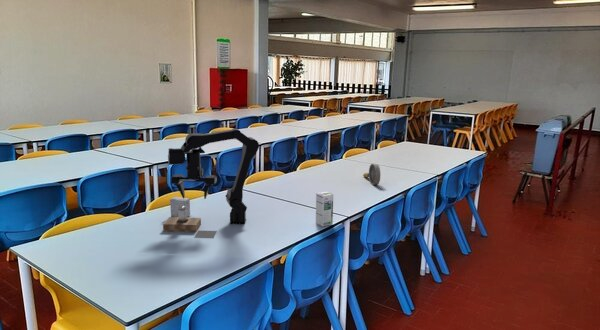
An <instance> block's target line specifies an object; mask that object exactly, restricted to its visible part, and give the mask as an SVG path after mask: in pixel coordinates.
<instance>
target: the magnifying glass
mask: <svg viewBox="0 0 600 330" xmlns="http://www.w3.org/2000/svg"><path fill="white" fill-rule="evenodd" d="M362 176H363V177H364V178H368V179H369V180H368V181H369V183H370V184H371V185H372V186H378V185H379V184H380V182H381V167H380V165H379V164H378V163H371V164H370V165H369V169H368V172H364V173H363V175H362Z"/></svg>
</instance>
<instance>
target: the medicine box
mask: <svg viewBox="0 0 600 330" xmlns="http://www.w3.org/2000/svg"><path fill="white" fill-rule="evenodd" d="M190 200H191V199H190V198H187V197H185V198H183V197H182V196H173V197H172V198H170V199H169V201H170V203H169V204H170V217H179V212H178V209H177V207H178V206H181V205H185V206H187V208H186V217H189V218H190V216H191V201H190Z"/></svg>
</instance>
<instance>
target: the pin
mask: <svg viewBox="0 0 600 330" xmlns="http://www.w3.org/2000/svg"><path fill="white" fill-rule="evenodd" d="M186 208H187V206H185V205H181V206H178V207H177V209H178V212H179V223H186Z"/></svg>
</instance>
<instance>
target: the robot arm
mask: <svg viewBox="0 0 600 330" xmlns="http://www.w3.org/2000/svg"><path fill="white" fill-rule="evenodd" d="M233 139H234V140H237V141H239V142H240V143H241V144H242V148H241V149H242V150H241V154H242V155H241V158H240V163H239V166H238V169H237V173H236V176H235V180H234V182H233V185H232V187H231V188H229V187H228V188H227V192H226V194H225V198H226V200H225V201H226V202H227V204H228V206H229V207H230V208H231V209H230V213H229V222H230V225H246V223H247V218H246V217H247V216H246V215H247V209H248V207H247V205H246V204H245V203H244V201H243V196H244V195H243V192H244V191H243V189H244V186H245V182H246V180H247V176H248V172H249V169H250V167H251V166H250V165H251V163H252V160H253V159H254V157H255V156H256V155H257V152H258V150H259V148H260V143H259V142H258V140H256V139H255V138H253V137H251V136H250V137H249V136H247V135H245V134H244V133H243V132H241V130H239V129H237V128H233V129H226V130H222V131H215V132H209V133H199V132H196V133H188V134H187V135H186V136H185V139H184V142H183V144H182V145H181V147H180V148H172V147H171V148H168V152H167V153H168V154H167V162H168V165H169V166H172V165H183V163H185V162H186V167H185V169H186V176H184V174H182V173H181V174H179V173H177V174H176V173H175V174H173V175H171V177H170V184H173V186H176V188H177V189H178V191H179V193H180V196H181V197H182V198H186V197H185V196H186V194H185V185H184V184H185V182H195V183H196V182H198V183H199V182H201V183H205V184H204V191H203V197H204V200H206V199H207V196H208V193H209V190H210V188H211V187H212V186H213V185H216V184H217V181H218V178H217V177H218V176H217V175H213V174H208V175H206V177H205V176H204V168H203V167H202V165H201V154H205V153H206V151H205V150H204V149H203V148H202V147H204V146H206V145H208V144H212V143H218V142H224V141H228V140H233Z"/></svg>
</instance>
